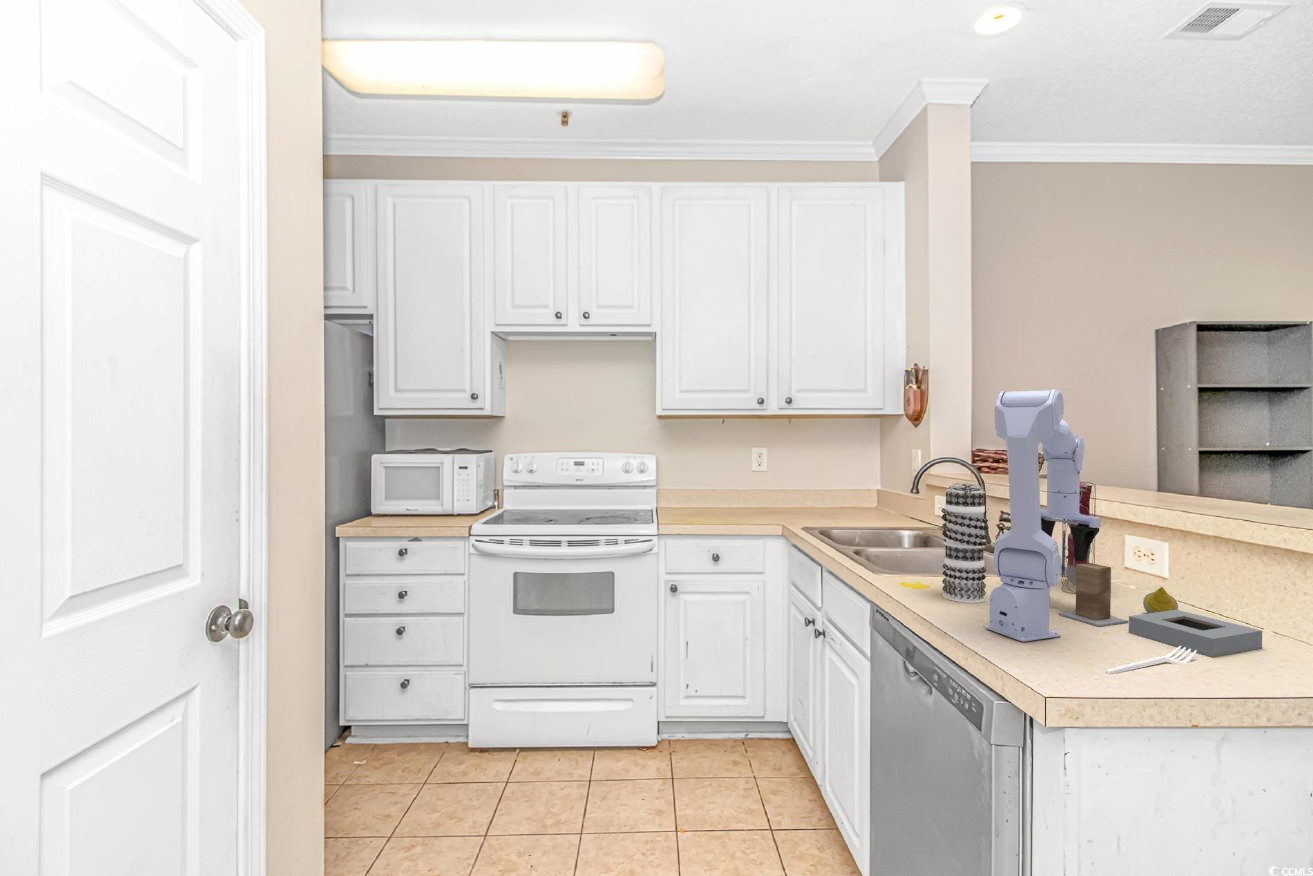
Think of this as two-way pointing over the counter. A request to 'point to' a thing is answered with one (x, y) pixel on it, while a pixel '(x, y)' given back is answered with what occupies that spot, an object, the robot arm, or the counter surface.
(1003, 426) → the robot arm
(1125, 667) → the fork
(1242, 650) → the gray square frame
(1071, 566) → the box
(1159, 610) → the drill bit
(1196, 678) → the counter surface
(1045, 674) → the counter surface
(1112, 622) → the flat gray square panel
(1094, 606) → the wooden rectangular post
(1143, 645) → the counter surface
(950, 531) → the decorative candle
